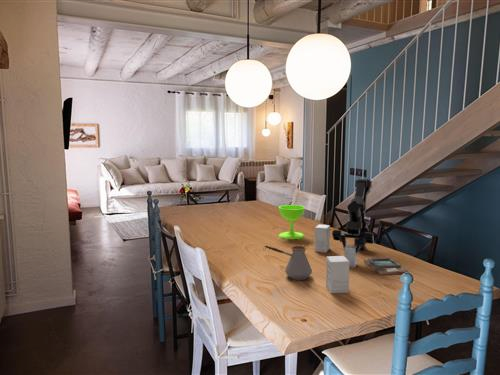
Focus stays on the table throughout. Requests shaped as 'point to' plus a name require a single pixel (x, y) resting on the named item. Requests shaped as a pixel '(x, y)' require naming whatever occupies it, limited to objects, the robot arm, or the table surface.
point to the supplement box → (337, 274)
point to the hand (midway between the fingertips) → (350, 252)
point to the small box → (322, 238)
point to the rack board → (385, 266)
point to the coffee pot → (296, 263)
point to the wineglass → (291, 219)
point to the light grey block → (351, 255)
